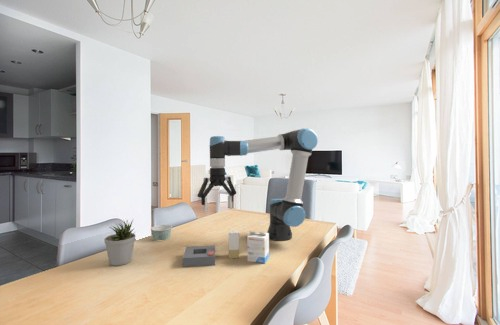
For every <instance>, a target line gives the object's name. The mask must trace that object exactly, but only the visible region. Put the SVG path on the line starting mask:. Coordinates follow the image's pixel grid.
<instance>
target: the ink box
mask: <svg viewBox="0 0 500 325" xmlns="http://www.w3.org/2000/svg"><path fill="white" fill-rule="evenodd" d="M246 245H247V246H246V247H247V248H246V249H247V250H246V251H247V255H246V256H247V262H250V263H251V262H252V263H260V264H266V262H267V261H268V260H269V258H270V239H269V233H267V232H264V231H263V232H262V231H249V234H248V235H247V236H246Z"/></svg>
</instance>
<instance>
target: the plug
mask: <svg viewBox="0 0 500 325" xmlns="http://www.w3.org/2000/svg"><path fill="white" fill-rule="evenodd" d="M239 251H240V232H239V230H238V229H232V230H230V229H229V230H228V258H229V259H238V258H240V252H239Z"/></svg>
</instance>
